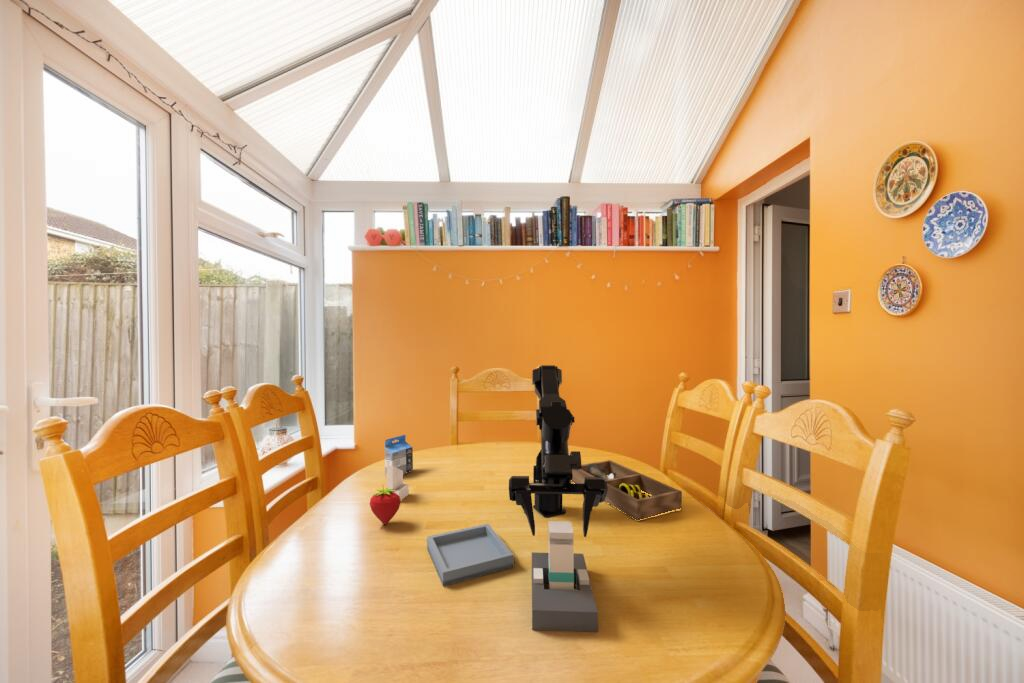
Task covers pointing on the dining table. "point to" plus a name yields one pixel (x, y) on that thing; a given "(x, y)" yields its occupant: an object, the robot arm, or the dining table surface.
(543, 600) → the block
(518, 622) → the dining table surface
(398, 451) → the label tape box
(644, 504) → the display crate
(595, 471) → the eagle figurine
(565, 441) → the robot arm
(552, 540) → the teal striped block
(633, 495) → the yellow coil spring
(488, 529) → the tray
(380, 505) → the strawberry
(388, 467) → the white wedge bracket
